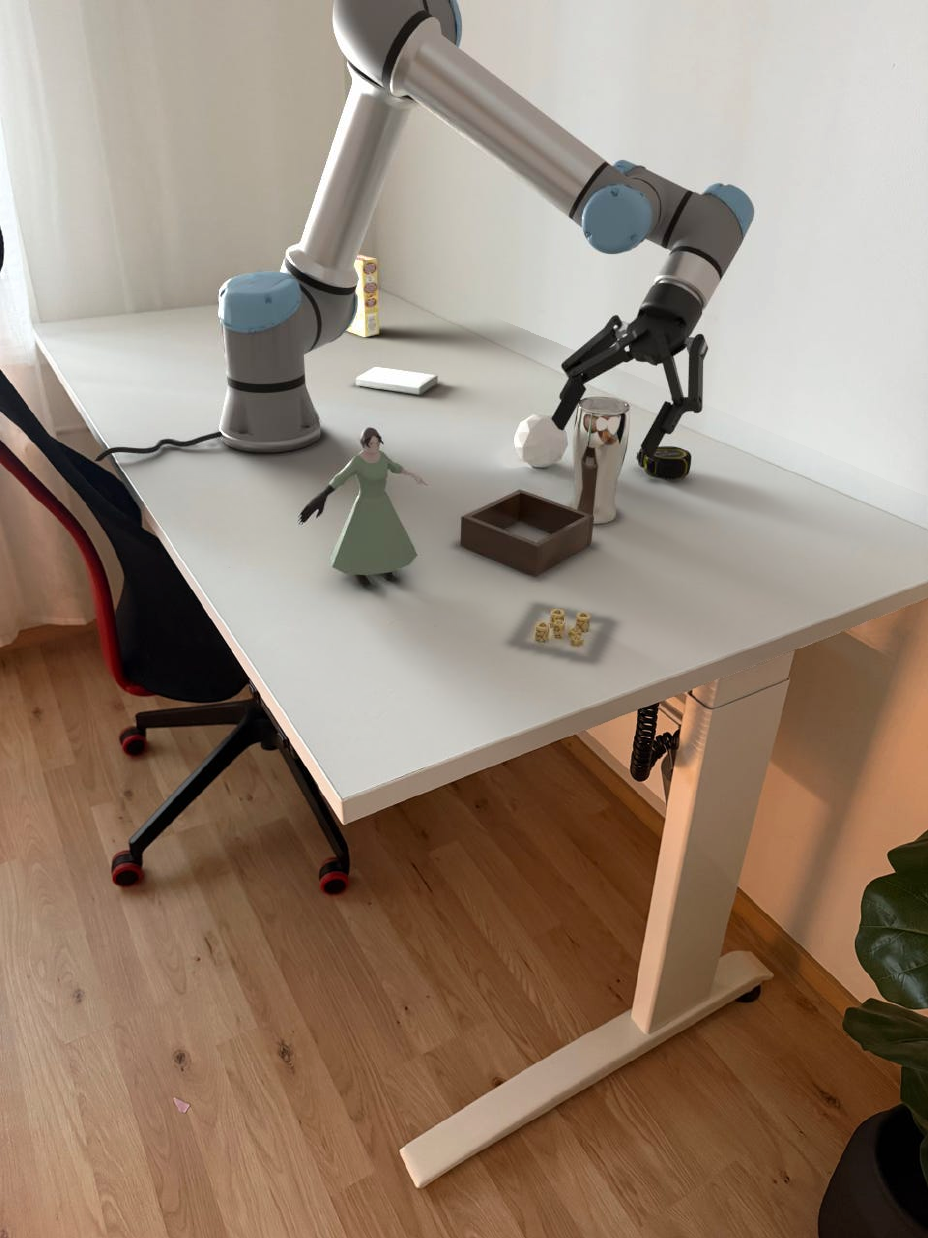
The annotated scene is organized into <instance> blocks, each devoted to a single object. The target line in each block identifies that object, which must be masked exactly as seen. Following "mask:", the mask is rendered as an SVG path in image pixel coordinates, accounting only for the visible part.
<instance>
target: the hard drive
mask: <svg viewBox="0 0 928 1238" xmlns="http://www.w3.org/2000/svg"><path fill="white" fill-rule="evenodd" d="M438 380H439V379H438V375H436V374H428V373H422V372H416V371H415V372H414V371H409V370H408V371H407V370H401V369H394V368H385V367H379V366H374V367H373V368H370V369H369V370H367V371H365V372H364V373H362V374H361V375H359V376H357V377H356V379H355V386H358V387H359V386H361V387H365V388H372V389H378V390H384V391H391V392H396V393H397V392H398V393H404V394H409V395H418V396H421V395H423V394H425V392H427V391H428V390H430V389H431V388H432V387H434V386H436V385H437V384H438Z"/></svg>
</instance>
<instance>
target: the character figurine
mask: <svg viewBox="0 0 928 1238" xmlns="http://www.w3.org/2000/svg"><path fill="white" fill-rule="evenodd" d="M359 443H360V445H361V447H362V450H361V451H360V452H359V453H358V454H355V456H353V457H352V459H351V460H349V462H348V463H347V464H346V465H345V467H344V468H343V469H342V470H341V471H339V472H338V473H337V474H336V475H335V476H334V477H333V478H332V479H331V480H330V482H329V483H328V485H327V486H326V487H325V488H324V489H323V491H321V492H319V493H318V494H316V495H315V496H314V497H313V498H312V499H311V500H310V501H309V502H308V503H307V504H306V505H305V506H304V508H303V509H302V510H301V512H300V514H299V515H298V517H297V518H298V520H297V522H298V525H300V526H302V525H303V524H304V523H306V522H307V521H308V520H309V519H310V518H311V516H312V515H314V514H315V512H317V510H318V512H317V514H316V516H315V519H318V518H319V517H320V516H321V515H322V514H323V512H324V509H325V505H326V502H327V500H328V499H327V498H328V496H330V495H331V494H332V493H334V492H335V491H336V490H338V489H339V488H340V487H342V486H344V485H345V484H346V483H347V481H348V480H349V479H350V478H351V477H353V476H354V475H355V479H356V481H357V483H358V488H359V492H358V495H357V496H356V498H355V500H354V502H353V505H352V508H351V510H350V512H349V515H348V517H347V519H346V521H345V523H344V526H343V528H342V531H340V532H341V533H340V535H339V537H338V539H337V542H336V544H335V546H334V548H333V550H332V552H331V555H330V558H329V559H330V560H329V561H330V564H331V568H333V569H335V570H337V571H339V572H342V573H344V574H346V575H353V578H354V580H355V581H356V582H357V583H358V585H360V586H363V587H369V586H370V585H371V582H370V580H369V578H368V576H373V575H380V576H382V577H383V578H384V579H386V580H387V581H393V580H394V579H395V577H394V574H393V572H394V571H397V570H400V569H402V568H404V567H407V566H409V565H410V564H412V562H414V560H415V559H416V558H417V557H418V552H417V550H416V548H415V545H414V543H413V542H412V540H411V538H410V535H409V533H408V532H407V530H406V528H405V526H404V524H403V523H402V520H401V518H400V517H399V514H398V513H397V511H396V508H395V506H394V505H393V502H392V500H391V497H390V495H389V493H388V492H387V491H386V487H387V479H388V476H389V475H388V474H389V471H390V472H391V473H392V474H396V475H401V474H402V475H405V476H406V475H407V476H410V477H411V478H412V479H413V480H414V481H415V482H416V484H418V485H420V486H421V484H423V485H424V486H425V487H426V486H428V484H427V482H426V481H424V479H422V478H421V477H420V476H419V475H417V474H416V473H414V472H411V471H410V470H407V469H406V468H405V467H404V466H402V465H401V464H400V463H398V462H395V461H393V460H392V459H391V458H390V457H389V456H388V455H387V454H386V453H385V452H384V451H383V450H380V446H381V444H382V445H384V441H383V439H382V436H381V434H380V433H379V432H378V430H377V429H376V428H375V427H371V426H369V427H365V429H363V430H362V432H361V434H360V438H359Z"/></svg>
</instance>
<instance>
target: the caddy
mask: <svg viewBox="0 0 928 1238" xmlns="http://www.w3.org/2000/svg"><path fill="white" fill-rule="evenodd" d="M460 518H461V519H460V543H459V544H460V547H462V548H465V549H467V550H470V551H471V552H474V553H477V554H479V555H481V556H484V557H486V558H488V559H491V560H493V561H496V562H497V563H501V564H502V565H504V566H507V567H510V568H513V569H515V570H517V571H519V572H522V573H524V574H527V575H529V576H532V577H534V578H536V577H538V576H540V575H541V574H543V573H545V572H546V571H548V570H550V569H552V568H554V567H555V566H557V565H559V564H560V563H562V562H564V561H565V560H567V559H569V558H571V557H573V556H574V555H576V554H578V553H580V552H581V551H584V550H585V549H586V548H588V547H591V546H592V539H593V530H594V524H593V523H594V516H593V515H590V514H588V513H585V512H582V511H579V510H576V509H574V508H571V506H569V505H566V504H562V503H559V502H557V501H555V500H551V499H549V498H546V497H543V496H540V495H537V494H534V493H532V492H530V491H526V490H523V489H520V488H519V489H517V490H515V491H513V492H511V493H509V494H506V495H505V496H502V497H500V498H498V499H496V500H494V501H491V502H490V503H487V504H485V505H483V506H481V507H479V508H476V509H474V510H471V511H470V512H467V513H466V514H463V515H462V516H461V517H460ZM517 522H521V523H525V524H527V525H530V526H532V527H535V528H538V529H540V530H542V531H545V532H547V533H550V534H549V535H547V536H546V537H544V538H542V539H540V540H538V541H533V540H531V539H529V538H526V537H524V536H521V535H518V534H516V533H514V532H510V531H508V530H506V529H505V528H508V527H509V526H511V525H514V524H515V523H517Z"/></svg>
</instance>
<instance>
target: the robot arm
mask: <svg viewBox="0 0 928 1238" xmlns="http://www.w3.org/2000/svg"><path fill="white" fill-rule="evenodd" d="M332 26H333V32H334V36H335V38H336V41H337V44H338V46H339V48H340V50H341V52H342V53H343V55H344V56H345V57H346V59H347V62H346V66H347V68H348V70H349V73H350V75H351V78H352V84H351V87H350V90H349V93H348V96H347V99H346V102H345V105H344V108H343V112H342V114H341V118H340V120H339V123H338V127H337V130H336V133H335V135H334V138H333V141H332V145H331V148H330V151H329V155H328V158H327V161H326V164H325V166H324V170H323V173H322V176H321V178H320V179H321V180H320V182H319V185H318V188H317V192H316V194H315V197H314V201H313V204H312V207H311V209H310V213H309V216H308V219H307V221H306V224H305V228H304V231H303V234H302V237H301V240H300V242H297V243H295V244H292V245H290V246H289V247H288V248H287V250H286V252H285V256H284V259H283V262H282V265H281V268H280V271H278V270H260V271H259V270H258V271H253V272H252V273H243V274H239V275H237V276H234V277H231V278H230V279H228V280H227V281H225V282H224V283H223V285H222V286H221V287H220V289H219V294H218V302H219V303H218V305H219V307H218V318H219V322H220V329H221V337H222V347H223V357H224V365H225V374H226V375H225V376H226V385H227V390H226V395H225V399H224V404H223V408H222V413H221V417H220V422H219V430H218V431H215V432H211V433H208V434H205V435H201V436H197V437H195V438H192V439H190V440H178V439H174V438H161V439H159V440H158V441H156V442H155V443H154V444H153V445H152V446H149V447H133V446H112V447H108V448H106V449H104V450H102V451H101V452H100V453H99V454H98V455H97V456H96V457H95V458H94V462H101V461H103V460H104V459H105V458H106V457H108V456H109V455H112V454H117V453H126V454H137V455H145V454H146V455H147V454H153V453H155V452H157V451H158V450H160V449H161V447H162V446H164V445H172V446H175V447H181V448H185V447H191V446H192V447H193V446H195V445H197V444H201V443H203V442H207V441H210V440H214V439H218V438H220V441H222V443H223V444H224V445H226V446H228V447H229V448H232V449H235V450H238V451H244V452H248V453H249V452H250V453H261V454H262V453H263V454H264V453H265V454H266V453H267V454H269V453H270V454H271V453H272V454H273V453H282V452H283V453H284V452H289V451H295V450H299V449H302V448H305V447H308V446H310V445H312V444H314V443H315V442H316V441H318V440H319V439H320V436H321V424H322V421H321V418H320V416H319V413H318V412H317V410H316V408H315V405H314V403H313V401H312V399H311V396H310V392H309V391H308V387H307V383H306V367H305V365H306V364H305V355H306V354H308V353H310V352H312V351H315V350H317V349H319V348H320V347H323V346H325V345H327V344H330V343H332V342H335V341H336V340H337V339H339V338H340V337H341V336H343V334H345V333H346V332H348V331H347V330H348V329H349V327H350V326H351V325H352V323H353V321H354V319H355V317H356V314H357V310H358V295H357V294H356V291H355V290H356V287H357V285H358V282H359V275H358V273H357V271H356V269H355V267H354V264H355V261H356V259H357V256H358V254H359V253H360V251H361V247H362V245H363V241H364V240H365V236H366V234H367V231H368V230H369V226H370V223H371V220H372V218H373V215H374V212H375V209H376V207H377V204H378V202H379V199H380V196H381V193H382V190H383V188H384V185H385V182H386V179H387V178H388V174H389V171H390V169H391V166H392V164H393V162H394V158H395V155H396V153H397V150H398V147H399V145H400V141H401V139H402V136H403V133H404V130H405V129H406V126H407V122H408V120H409V117H410V114H411V113H412V111H413V109H415V108H418V107H420V106H422V107H424V109H426V110H427V111H428V112H430V113H431V114H433V115H434V116H435V117H436V118H437V119H439V120H441V122H443V123H444V124H446V125H447V126H448V127H449V128H451V129H452V130H453V131H454V132H456V133H457V134H458V135H460V136H461V137H463V138H464V139H465V140H466V141H468V142H469V143H470V144H472V145H473V146H474V147H476V148H477V149H478V150H480V151H481V152H482V153H483V154H485V155H486V156H488V157H489V158H490V159H492V160H493V161H494V162H496V163H497V164H498V165H499V166H501V167H502V168H503V169H504V170H506V171H507V172H509V173H510V174H511V175H513V176H514V177H515V178H516V179H518V180H519V181H520V182H522V183H523V184H524V185H526V186H527V187H528V188H529V189H531V190H532V191H534V192H535V193H536V194H538V195H539V196H540V197H541V198H543V199H544V200H546V201H547V202H548V203H549V204H550V205H552V206H553V207H554V208H556V209H557V210H559V211H560V212H561V213H562V214H564V215H565V216H566V217H568V218H569V219H570V220H572V221H573V222H574V223H575V224H576V225H578V226H579V227H580V228H581V229H582V231H583V235H584V237H585V239H586V240H587V242H588V244H589V245H590V246H591V247H592V248H593V249H595V250H596V251H598V252H599V253H602V254H606V255H619V254H622V253H627V252H629V251H632V250H633V249H635V248H637V247H638V246H639V245H641V244H642V243H643V242H644V241H645V240H647V241H648V242H651V243H653V244H655V245H658V246H660V247H661V248H663V249H665V250H668V251H670V252H669V254H668V256H667V258H666V260H665V261H664V262H663V265H662V266H661V268H660V269H659V272H658V274H657V275H656V277H655V279H654V281H653V284H652V285H651V286H650V288H649V289H648V292H647V293H646V295H645V297H644V299H643V301H642V302H641V304H640V306H639V309H638V312H637V315H636V317H635V318H634V320H632V321H631V322H630V323H629V322H626V321H624V320H621V317H620V316H619V315H618V314H614V315H612V316H611V317H610V318H609V319H608V321H607V323H605V324H606V325H605V326H604V327H603V328H602V329H601V330H599V332H598V333H596V334H595V335H594V336H592V337H591V338H590V339H589V340H587V342H586V343H584V344H582V346H581V347H579V348H578V349H577V350H576V351H575V352H573V353H572V354H571V355H570V356H569V357H568V358H566V359H565V360H563V362H562V363H561V365H560V367H561V369H562V370H563V373H564V374H565V375H566V377H567V378H568V379H567V380H566V382H565V384H564V386H563V388H562V389H561V391H560V392H559V397H558V398H559V400H560V403H559V404H558V405H557V407H556V409H555V411H554V413H553V414H552V418H551V419H552V421H553V422H554V424H555V425H556V426H557V428H558V429H559V430H562V431H563V430H564V428H565V429H566V426H567V424H568V423H569V421H570V420H571V417H572V416H573V414H574V412H575V410H577V409H576V408H578V402H579V401H580V400H582V399H583V397H584V395H585V392H586V390H587V387H586V386H585V384H586V383H589V382H590V381H592V380H593V379H596V378H598V377H599V376H601V375H603V374H604V373H606V372H608V371H610V370H612V369H614V368H616V367H617V366H619V365H621V364H623V363H629V362H631V361H632V360H635V361H636V362H639V363H648V364H650V365H652V366H656V367H657V366H658V365H662V366H663V371H664V375H665V378H666V381H667V387H668V389H669V394H670V397H671V398H670V399H671V401H672V402H670V401H666V400H665V401H664V403H663V404H662V406H661V408H660V410H659V412H658V413H657V415H656V417H655V418H654V421H653V423H652V424H651V426H650V428H649V430H648V432H647V433H646V434H645V436H644V439H643V441H642V443H641V444H640V448H642V450H643V451H644V453H645V455H646V456H647V457H649V458H652V457H653V455H654V453H655V452H656V450H657V448H658V447H659V446H660V444H661V443H662V440H663V439H664V437H665V436H666V435H669V436H670V435H671V434H672V433H674V431H675V429H676V428H677V425H678V424H679V422H680V420H681V418H682V416H683V415H684V414H685V413H689V412H693V413H694V414H699V413H701V412H702V410H703V403H704V402H703V401H704V396H703V394H704V393H703V391H704V361H705V358H706V355H707V353H708V351H709V346H708V343H707V340H706V338H705V335H704V334H703V333H698V334H696V335H695V336H691V335H692V334H693V333H694V330H695V328H696V326H697V325H698V323H699V321H700V319H701V317H702V315H703V311H704V310H705V309H706V308H707V307H708V304H709V302H710V301H711V299H712V297H713V295H714V293H715V291H716V290H717V288H718V286H719V284H720V283H721V281H722V279H723V277H724V275H725V274H726V272H727V270H728V269H729V267H730V265H731V263H732V262H733V260H734V258H735V256H736V255H737V253H738V251H739V250H740V248H741V246H742V244H743V241H744V239H745V238H746V235H747V233H748V231H749V229H750V227H751V225H752V224H753V221H754V218H755V206H754V203H753V201H752V200H751V198H750V197H749V195H748V194H747V193H746V192H745V191H744V190H742V189H741V188H739V187H738V186H735V185H733V184H730V183H728V184H723V183H721V182H717V183H714V184H711V185H709V186H708V187H707V188H706V189H705V190H704V192H702V193H699V192H696V191H692V190H689V189H688V188H686V187H683V186H681V185H680V184H678V183H675V182H673V181H671V180H669V179H667V178H665V177H664V176H661V175H659V174H657V173H655V172H653V171H651V170H649V169H647V168H646V166H645V165H642V164H635V163H633V162H630V161H628V160H626V159H619V160H616V161H615V162H614V163H613V165H611V163H609V162H608V161H607V160H606V159H605V158H604V157H602V156H600V154H598V153H597V152H595V151H594V150H593V149H592V148H590V147H589V146H587V145H586V144H585V143H583V142H582V141H581V140H580V139H579V138H578V137H576V136H575V135H573V134H572V133H570V132H569V131H568V130H567V129H566V128H564V127H563V126H561V125H560V124H559V123H558V122H557V121H556V120H554V119H553V118H551V117H550V116H549V115H547V114H546V113H545V112H543V110H540V109H539V108H538V107H537V106H536V105H534V104H533V103H531V101H529V100H528V99H527V98H525V97H524V96H522V95H521V94H520V93H519V92H517V91H516V90H515V89H514V88H512V87H511V86H509V84H507V83H506V82H504V81H503V80H502V79H501V78H499V77H498V76H496V74H493V73H492V72H491V71H490V70H489V69H487V68H486V67H485V66H483V65H482V64H481V63H480V62H479V61H477V60H475V59H474V58H473V57H472V56H470V55H469V54H468V53H467V52H466V51H464V50H463V49H461V48H460V45H461V41H462V35H463V19H462V13H461V10H460V5H459V3H458V1H457V0H334V2H333V6H332ZM627 347H628V350H627V351H626V348H627ZM685 349H686V351H687V353H688V376H687V378H688V380H687V396H685V395H684V392H683V389H682V383H681V380H680V378H679V377H680V376H679V373H678V370H677V369H678V368H677V365H676V360H675V356H676V355H678V354H680V353H681V352H683V351H685Z"/></svg>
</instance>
